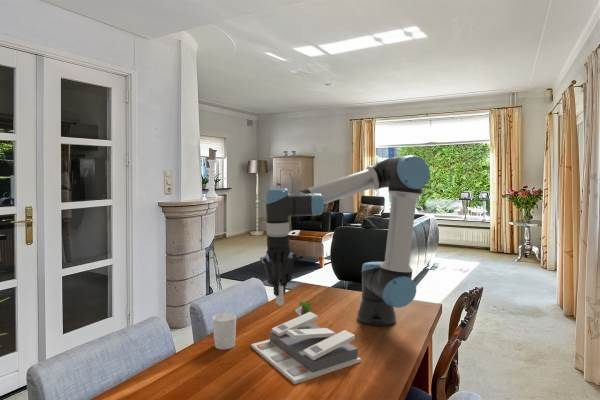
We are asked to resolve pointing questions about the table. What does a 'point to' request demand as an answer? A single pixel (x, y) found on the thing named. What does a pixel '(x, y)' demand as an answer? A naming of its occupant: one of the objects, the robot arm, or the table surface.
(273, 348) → the switch unit
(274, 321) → the table surface
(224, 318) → the white cup
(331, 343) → the rocker
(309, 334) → the bar
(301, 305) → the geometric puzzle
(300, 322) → the rocker
